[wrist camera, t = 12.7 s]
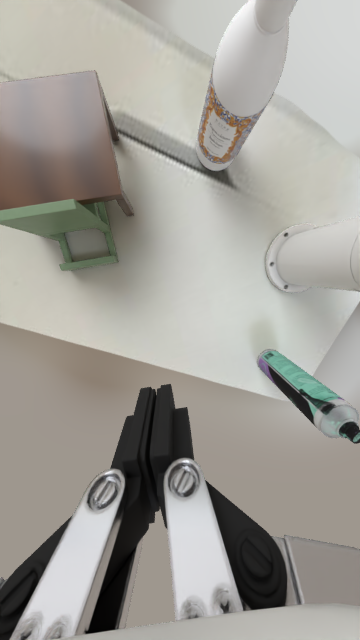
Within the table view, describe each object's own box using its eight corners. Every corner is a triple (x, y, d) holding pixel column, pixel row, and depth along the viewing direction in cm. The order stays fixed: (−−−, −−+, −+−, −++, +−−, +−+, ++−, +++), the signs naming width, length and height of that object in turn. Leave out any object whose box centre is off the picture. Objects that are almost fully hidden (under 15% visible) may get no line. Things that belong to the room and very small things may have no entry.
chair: (96, 170, 30) (44, 97, 17) (118, 262, 34) (90, 256, 21) (41, 179, 29) (-52, 111, 17) (70, 270, 33) (12, 270, 21)
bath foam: (187, 155, 30) (225, -53, 11) (209, 111, 29) (299, -218, 9) (221, 181, 31) (310, 37, 12) (244, 140, 30) (384, -96, 11)
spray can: (252, 366, 41) (328, 450, 22) (264, 345, 40) (354, 414, 21) (272, 373, 42) (362, 460, 23) (284, 353, 41) (389, 426, 22)
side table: (117, 131, 28) (95, 69, 20) (134, 215, 32) (121, 194, 23) (7, 146, 28) (-64, 90, 19) (36, 230, 31) (-14, 214, 23)
